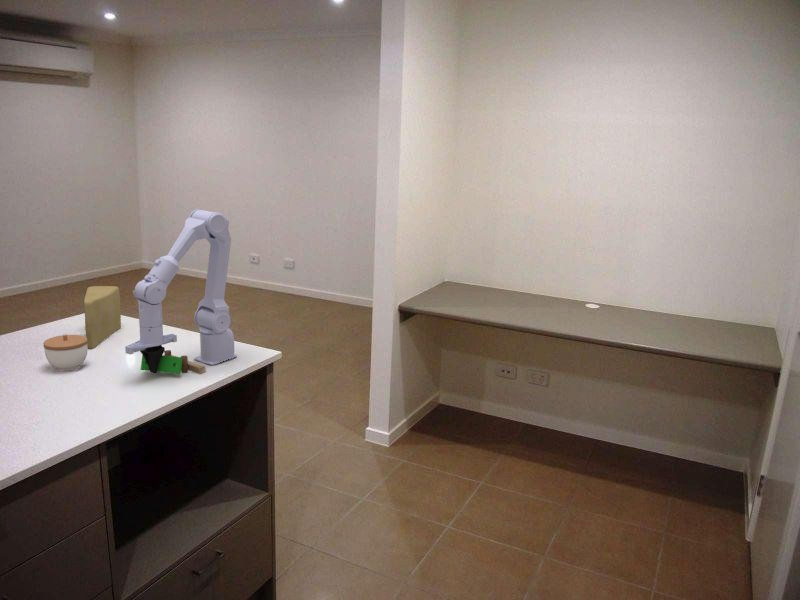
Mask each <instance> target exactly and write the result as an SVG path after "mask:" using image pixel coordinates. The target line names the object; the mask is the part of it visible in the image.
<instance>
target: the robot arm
mask: <svg viewBox="0 0 800 600" xmlns="http://www.w3.org/2000/svg"><path fill="white" fill-rule="evenodd" d="M229 224H230V221H229V220H228V219H227V217H226V216H225V215H224V214H223V213H222V212H219V211H215V212H214V211H210V210H204V209H201V208H198V209H194V210H193V211H191V213H190V214H189V217H187V219H185V221H184V226H183V229H182V231H181V232H180V233H179V235H178V237H177V239H176V240H175V242H174V243H173V245H172V247H171V249H170V250H169V252H168V253H167V255H163V256H160V257H159V258H158V259H157V258H156V259H155V261H154V262H153V263H154V265H153V267H152V268H151V269H150V271H149V272H148V273H147V274H146V275H145V276H144V279H142V280H140V281H138V282H137V284H136V285H135V287H134V290H132V293H133V294H132V295H133V296H134V298H135V299H136V301H137V305H138V319H139V320H138V321H139V324H138V326H139V340H137V341H135V342H133V343H130V344H127V345H125V346H124V347H125V354H126V355H134V354H135V353H138V352H140V353H141V355H143V356H144V358H145V360H146V362H147V364H148V367H149V371H148V372H150V373H151V374H153V375H154V374H157V373H158V372H157V369H158V365H159V361H160V359H161V357H162V355H164V351H166V350H165V347H164V346H163V345H167V344H170V343H177V342H178V336H177V334H175V333H169V334H164V331H163V330H164V329H163V303H162V302H163V300H164V299H166V296H167V289H168V286H169V284H170V283H171V281H172V280H173V279H174V277H175V276H176V274H177V273H178V271H179V270H180V265H179V262H180V261H181V260H182V259H183V257H184V256H185V255H186V254H187V253H188V251H189V250H190V249H191V247H192V246H193V245H194V244H195V243H196V241H198V240H199V241H200V240H203V239H205V240H207V242H209V244H210V246H209V255H208V256H209V257H208V264H207V273H206V281H205V289H204V297H203V298H202V299H201V300H200V301H198V305H197V309H196V311H195V313H194V317H193V320H194V322H195V324H196V325H197V326H198V330H199V341H200V342H199V344H200V345H199V347H200V355H199V356H196V357H194V360H195V361H197V362H201V363H203V364H206V365H209V366H215V365H218V364H221V363H224V362H226V360H227V361H229V360H232V359H235V358H237V355H236V354H235V335H234V332H233V331H232V329H231V328H229V327H230V325H231V316H230V306H229V305H228V304H227V302H226V301H225V294H226V284H227V277H228V270H229V269H228V268H229V262H230V261H229V260H230V252H231V244H232V238H231V235H230V231H229ZM234 357H235V358H234ZM231 358H232V359H231ZM228 359H229V360H228ZM223 361H224V362H223ZM220 362H221V363H220Z"/></svg>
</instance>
